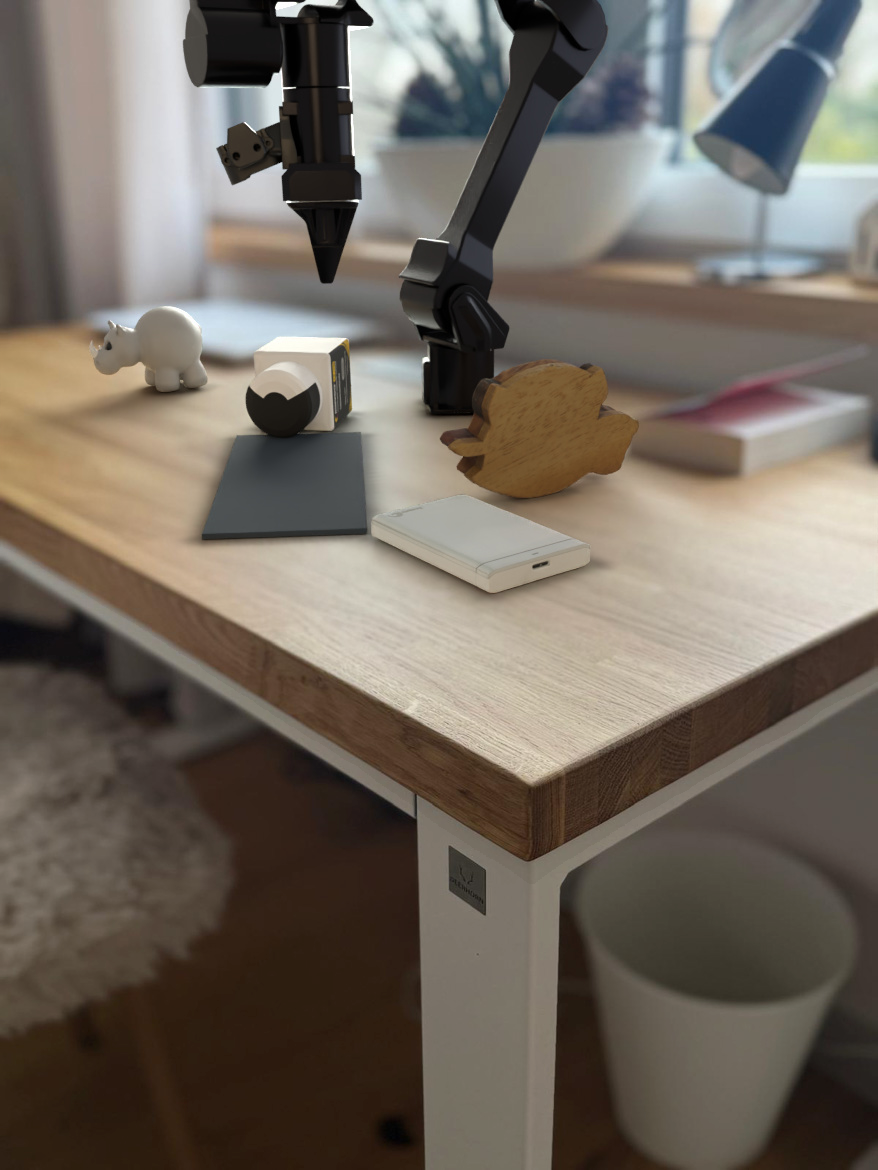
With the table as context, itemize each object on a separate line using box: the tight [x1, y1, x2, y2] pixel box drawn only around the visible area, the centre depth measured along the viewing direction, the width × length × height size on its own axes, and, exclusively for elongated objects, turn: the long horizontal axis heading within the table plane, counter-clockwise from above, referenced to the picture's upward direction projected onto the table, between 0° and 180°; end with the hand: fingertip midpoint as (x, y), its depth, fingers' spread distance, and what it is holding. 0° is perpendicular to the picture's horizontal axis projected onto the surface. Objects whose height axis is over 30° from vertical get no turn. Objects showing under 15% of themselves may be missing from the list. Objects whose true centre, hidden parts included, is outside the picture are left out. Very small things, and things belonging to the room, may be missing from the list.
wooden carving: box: [439, 358, 640, 499], centre depth 79 cm, size 16×5×10 cm, turn 123°
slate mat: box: [201, 431, 368, 540], centre depth 84 cm, size 11×26×1 cm, turn 5°
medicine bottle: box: [244, 336, 353, 438], centre depth 98 cm, size 7×7×12 cm
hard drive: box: [370, 493, 591, 594], centre depth 69 cm, size 2×8×12 cm
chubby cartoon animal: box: [88, 305, 208, 393], centre depth 114 cm, size 7×12×8 cm, turn 121°
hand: (326, 283), depth 95 cm, fingers closed
